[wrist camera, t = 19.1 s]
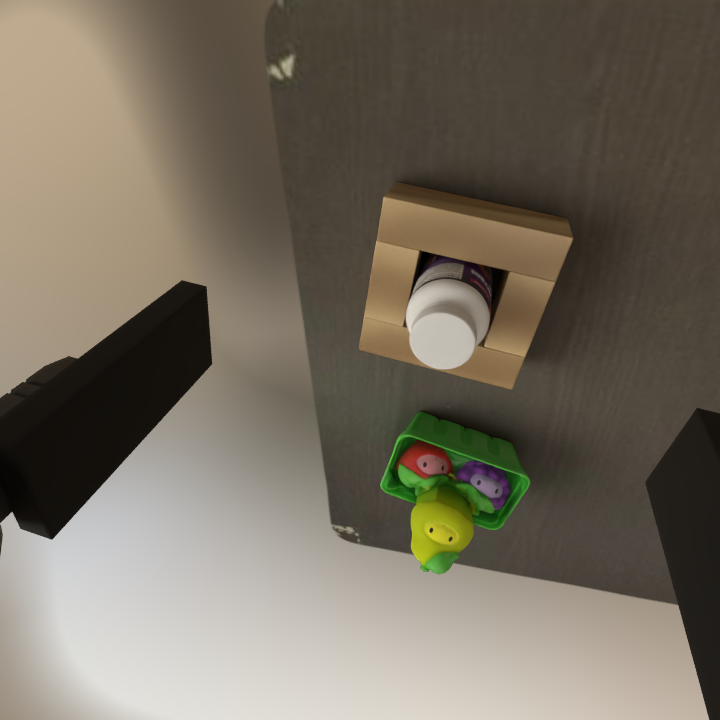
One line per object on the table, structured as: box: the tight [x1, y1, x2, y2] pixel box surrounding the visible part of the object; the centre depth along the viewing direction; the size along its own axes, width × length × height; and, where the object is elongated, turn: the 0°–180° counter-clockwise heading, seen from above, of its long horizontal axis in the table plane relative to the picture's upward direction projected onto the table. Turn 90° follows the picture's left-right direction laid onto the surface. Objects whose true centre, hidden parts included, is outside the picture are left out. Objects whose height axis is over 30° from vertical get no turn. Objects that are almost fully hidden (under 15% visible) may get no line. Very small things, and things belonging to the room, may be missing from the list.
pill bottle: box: [406, 254, 493, 369], centre depth 33 cm, size 5×5×10 cm
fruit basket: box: [380, 412, 530, 574], centre depth 42 cm, size 11×9×11 cm
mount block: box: [359, 182, 573, 390], centre depth 36 cm, size 12×12×4 cm
